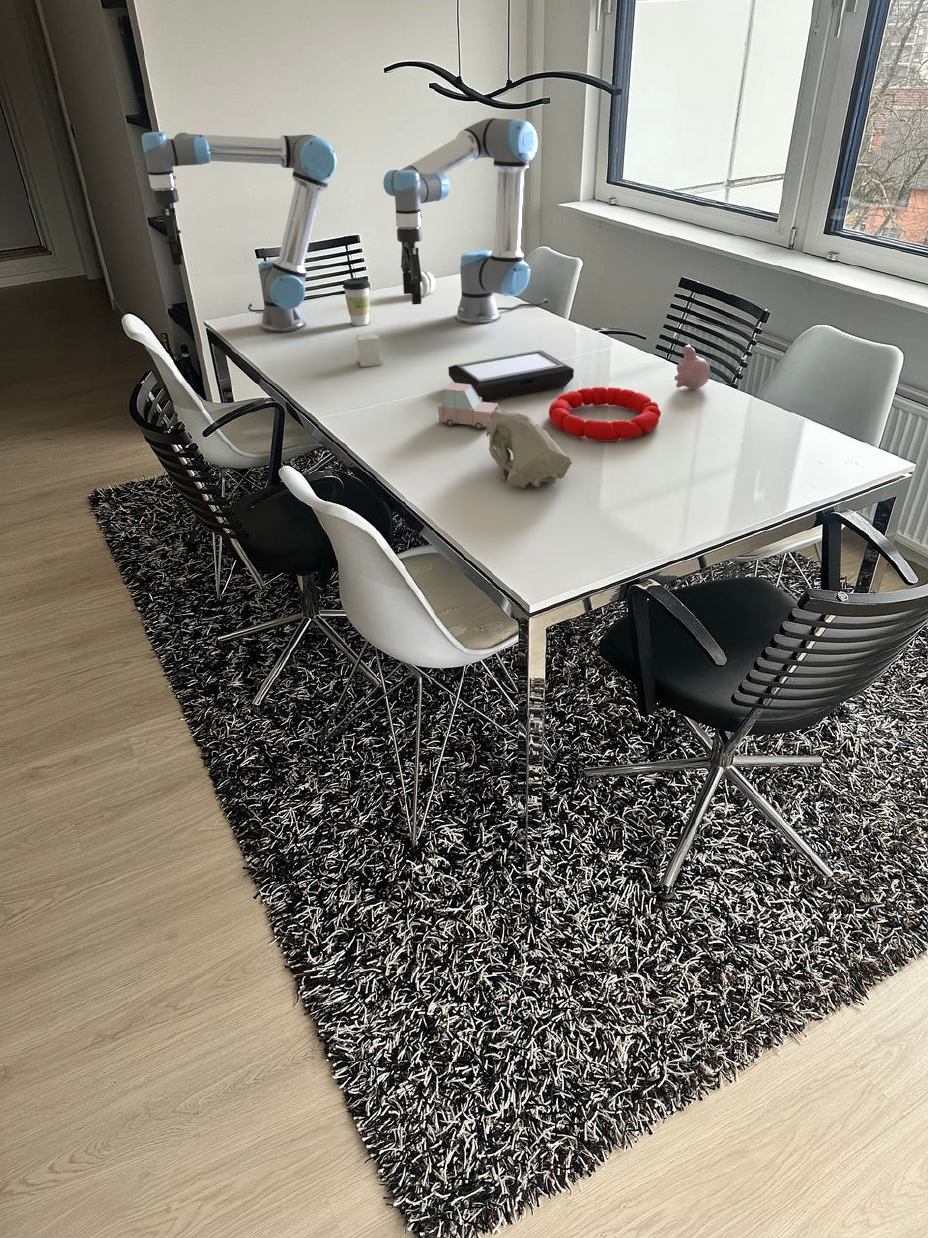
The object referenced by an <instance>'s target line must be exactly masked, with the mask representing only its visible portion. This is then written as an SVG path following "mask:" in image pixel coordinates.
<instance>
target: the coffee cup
mask: <svg viewBox="0 0 928 1238" xmlns="http://www.w3.org/2000/svg"><path fill="white" fill-rule="evenodd" d="M370 287H371V283H370V282H369V279H367V278H365V277H351V278H347V279H345V280H344V281H343V285H342V288H343V290H344V297H345V301H346V305H347V310H348V314H349V318H350V323H351V325H353V326H357V327H359V326H365V325H368V324H369V317H370V316H369V313H370Z"/></svg>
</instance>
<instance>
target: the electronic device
mask: <svg viewBox="0 0 928 1238" xmlns="http://www.w3.org/2000/svg"><path fill="white" fill-rule="evenodd" d="M574 374H575V369H574V368H573V367H571V366H569V365H568V364H566V363H564V362H563V361H561V360H559V359H557V358H556V357H554V356H552V355H551V354H549V353H547V352H545V350H544V351H543V350H541V349H539V350H532V351H528V352H521V353H515V354H510V355H505V356H499V357H493V358H487V359H482V360H476V361H470V362H465V363H457V364H454V365H451V366H448V376H449V378H450V379H451V380H452V381H453V383H460V384H470V385H471V386H472V387H473V389H474V390H475V391H476V393H477V394H478V396H479V397H482V402H488V401H489V402H490V401H493V400H494V401H495V400H498V399H504V398H509V397H515V396H520V395H526V394H530V393H536V392H541V391H546V390H552V389H557V388H561V387H563V388H564V387H566V386H568V384H569V383H570V382H571V381H572V380H573V379H574V377H575V376H574Z"/></svg>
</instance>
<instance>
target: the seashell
mask: <svg viewBox="0 0 928 1238" xmlns="http://www.w3.org/2000/svg"><path fill="white" fill-rule="evenodd" d="M421 278H422V282H420V286H421V297H426V296H429V295H430V294H431V293H432V292H433V290H434V289H435V286H436V279H435V277H434V275H433V274H432V273H430V272H429V270H421ZM410 295H411V296H412V294H410Z"/></svg>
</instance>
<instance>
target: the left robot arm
mask: <svg viewBox="0 0 928 1238" xmlns="http://www.w3.org/2000/svg"><path fill="white" fill-rule="evenodd" d="M141 144H142V151H143V154H144V155H143V156H144V159H145V164H146V169H147V174H148V179H149V185H150V188H151V189H152V191H151V193H152V198H153V202H154V203H155V204H157V205H162V207H163V208H161V214H162V217H163V221H164V224H165V229H166V234H167V240H166V245H169V248H170V249H169V251H170V255H171V259H172V265H173V266H182V265H183V261H182V256H184V253H183V247H182V243H181V237H180V234H182V233H181V229H179V227H178V223H177V214H176V213H177V211H176V208H175V207H174V204H176V203H178V202H179V201H180V199H179V195H178V189H177V188H176V186H177V184H176V180H177V176H176V175H174V167H182V166H198V165H199V166H202V165H206V164H209V163H210V162H222V163H223V162H224V163H243V164H244V163H245V164H266V165H280V166H281V168H283V169H292V170H293V172H292V175H291V178H292V179H293V181H294V189H293V193H292V197H291V201H290V206H289V211H288V214H287V219H286V225H285V229H284V233H283V237H282V242H281V247H280V251H279V256H278V258H276V259H270V260H264V261H260V262H259V264H258V274H259V279H260V287H261V292H262V299H263V309H251V307H253V304H252V303H249V304H248V306H247V308H248V311H249V312H253V313H262V312H263V313H262V319H261V326H262V330H264V331H265V332H271V333H286V332H293V331H296V330H297V331H298V330H300V329H302V328H304V326H305V319H304V317H303V314H302V312H301V310H300V307H299V306H300V305H301V304H303V301H304V299H305V298H306V287H305V286H306V285H305V282H306V278H307V273H308V271H307V269H306V267H305V262H306V258H307V254H308V249H309V245H310V242H311V241H310V240H311V237H312V233H313V228H314V224H315V219H316V216H317V212H318V206H319V202H320V197H321V194H322V192H324V191H326V190H327V189H328V186H329V185H328V184H329V181H330V178H331V177H332V176H333V175H334V173H335V171H336V168H337V155H336V152H335V150H334V148H333V147H332V145H331V144H330V143H329V142H328V141H327V140H326V139H323V138H321V137H318V136H316V135H314V134H297V135H280V136H279V138H273V137H252V136H238V135H237V136H236V135H235V136H234V135H216V134H197V133H196V134H195V133H188V132H179V133H177V134H176V135H175V136H173V138H168V135H167V134H166V133H165V132H164V131H152V132H150V131H149V132H145V133H143V134H142V135H141Z"/></svg>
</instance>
